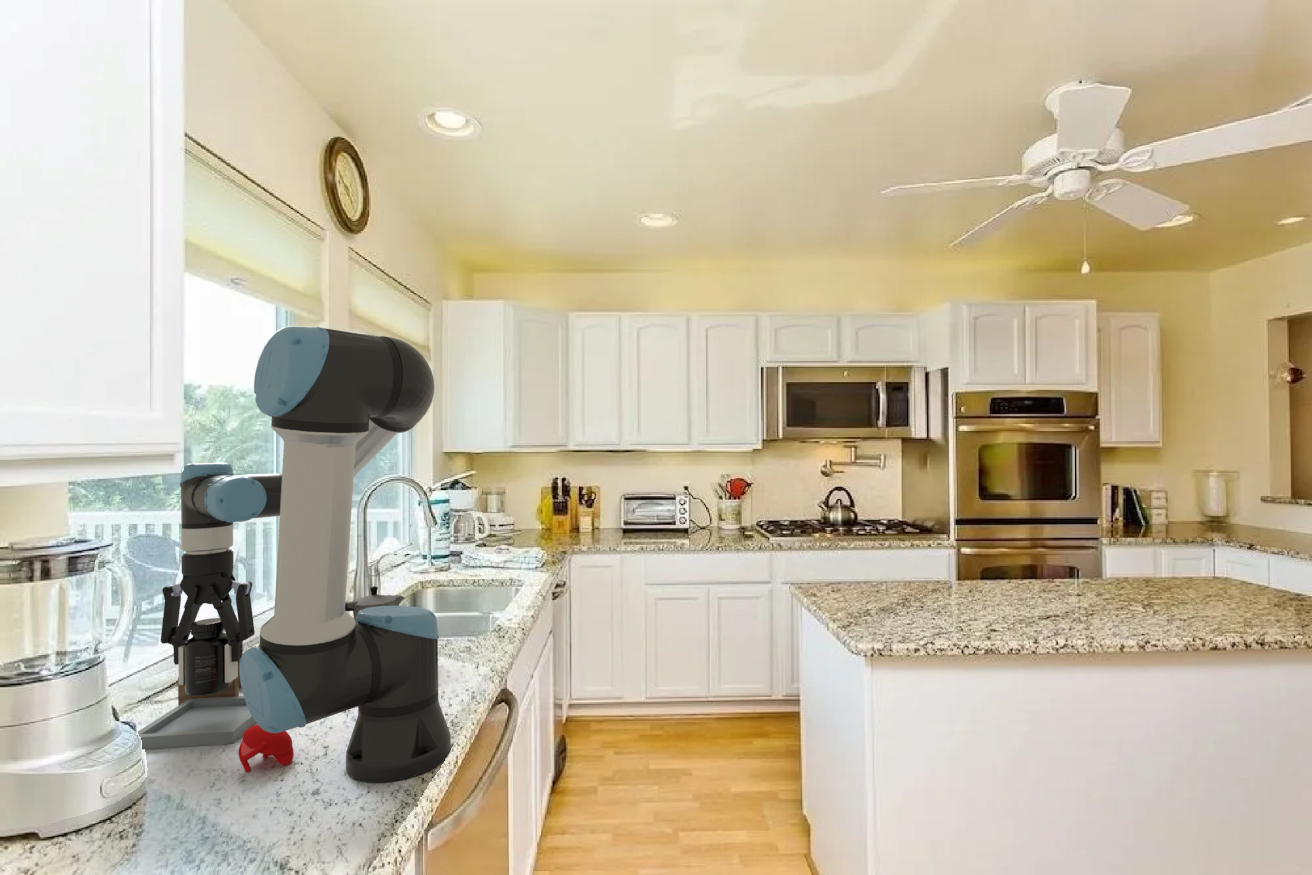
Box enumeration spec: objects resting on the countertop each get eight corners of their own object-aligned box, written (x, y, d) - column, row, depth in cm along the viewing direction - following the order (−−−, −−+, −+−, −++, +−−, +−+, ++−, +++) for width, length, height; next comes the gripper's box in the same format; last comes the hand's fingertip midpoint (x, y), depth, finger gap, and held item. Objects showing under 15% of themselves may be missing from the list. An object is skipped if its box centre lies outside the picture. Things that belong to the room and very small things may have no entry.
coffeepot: (396, 656, 148) (395, 578, 148) (413, 666, 141) (412, 584, 141) (324, 673, 137) (323, 589, 137) (339, 685, 130) (338, 597, 130)
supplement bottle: (241, 682, 115) (240, 616, 115) (211, 697, 108) (210, 627, 108) (206, 681, 116) (205, 615, 116) (174, 696, 109) (173, 626, 109)
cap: (221, 755, 94) (252, 736, 94) (243, 725, 100) (272, 706, 99) (260, 788, 97) (291, 770, 96) (279, 757, 102) (308, 739, 102)
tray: (233, 743, 105) (232, 731, 105) (127, 750, 103) (127, 737, 103) (279, 704, 121) (279, 693, 121) (188, 709, 119) (188, 698, 119)
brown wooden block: (235, 706, 120) (235, 674, 120) (178, 709, 119) (178, 677, 119) (265, 683, 132) (265, 654, 132) (213, 686, 130) (213, 657, 130)
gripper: (277, 545, 117) (278, 670, 117) (161, 548, 115) (162, 675, 115) (256, 552, 110) (257, 686, 110) (132, 555, 107) (132, 692, 107)
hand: (208, 680), depth 112 cm, fingers closed on supplement bottle, 7 cm apart
